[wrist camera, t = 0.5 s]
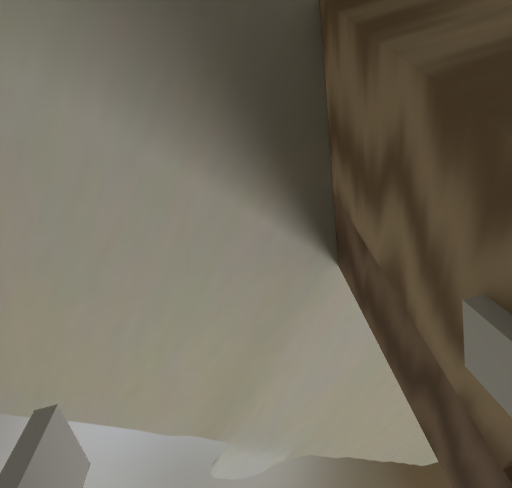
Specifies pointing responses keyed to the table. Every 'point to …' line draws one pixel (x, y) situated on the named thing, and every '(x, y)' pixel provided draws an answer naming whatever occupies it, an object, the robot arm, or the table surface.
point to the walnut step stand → (426, 201)
